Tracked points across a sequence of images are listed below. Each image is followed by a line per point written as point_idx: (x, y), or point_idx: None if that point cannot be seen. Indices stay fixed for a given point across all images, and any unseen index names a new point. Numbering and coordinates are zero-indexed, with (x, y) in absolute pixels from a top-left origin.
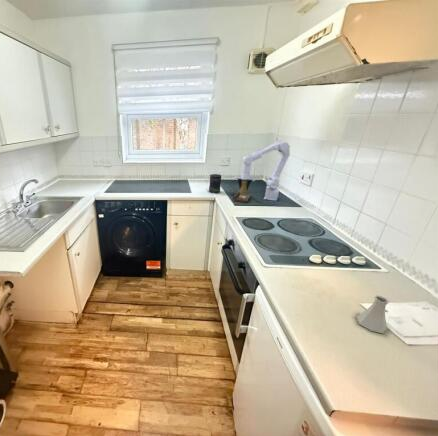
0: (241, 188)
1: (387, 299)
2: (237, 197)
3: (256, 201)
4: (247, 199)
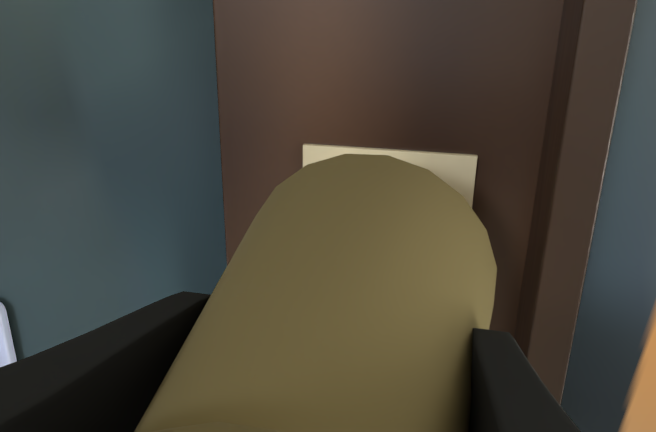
0: (415, 282)
1: None
2: (515, 99)
3: (66, 105)
4: (220, 22)
